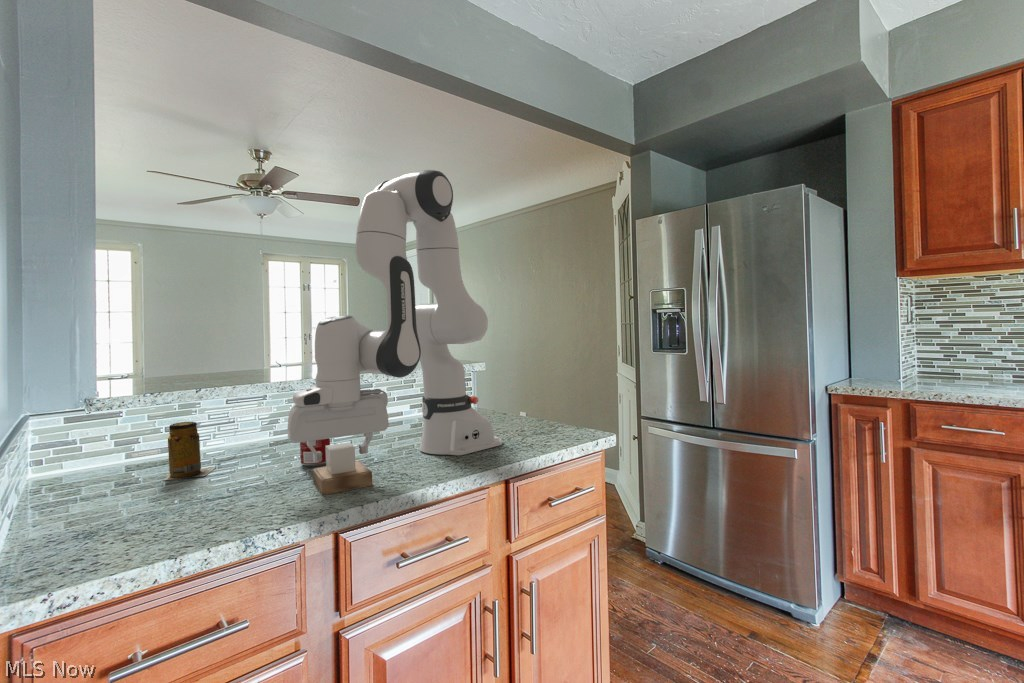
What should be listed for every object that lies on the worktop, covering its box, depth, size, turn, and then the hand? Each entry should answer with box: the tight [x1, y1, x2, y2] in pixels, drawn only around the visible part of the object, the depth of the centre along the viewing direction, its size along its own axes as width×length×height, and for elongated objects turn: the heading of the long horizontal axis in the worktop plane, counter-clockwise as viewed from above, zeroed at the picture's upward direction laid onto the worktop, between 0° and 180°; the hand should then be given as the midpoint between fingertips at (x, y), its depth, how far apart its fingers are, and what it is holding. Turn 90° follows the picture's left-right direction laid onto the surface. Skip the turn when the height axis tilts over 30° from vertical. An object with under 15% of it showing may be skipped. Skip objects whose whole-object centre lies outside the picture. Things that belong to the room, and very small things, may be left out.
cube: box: [325, 441, 356, 475], centre depth 102 cm, size 5×5×5 cm
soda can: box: [299, 438, 331, 468], centre depth 117 cm, size 7×7×12 cm
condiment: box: [162, 421, 217, 481], centre depth 111 cm, size 7×8×12 cm
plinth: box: [312, 460, 373, 496], centre depth 102 cm, size 10×10×3 cm
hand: (341, 457), depth 102 cm, fingers open, 8 cm apart
